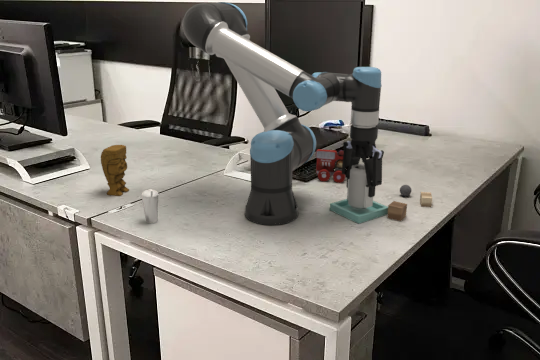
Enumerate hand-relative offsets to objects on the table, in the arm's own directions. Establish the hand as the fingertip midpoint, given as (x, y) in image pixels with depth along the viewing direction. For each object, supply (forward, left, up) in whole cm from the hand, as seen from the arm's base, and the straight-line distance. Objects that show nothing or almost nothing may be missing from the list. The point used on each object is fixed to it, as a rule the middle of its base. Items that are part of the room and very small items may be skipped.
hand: (359, 202), depth 151 cm
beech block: (+21, -7, -3) cm, 22 cm away
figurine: (-52, +56, -3) cm, 76 cm away
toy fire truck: (+13, +26, -3) cm, 29 cm away
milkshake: (-52, +28, -3) cm, 59 cm away
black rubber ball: (+21, +1, -1) cm, 21 cm away
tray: (0, 0, -3) cm, 3 cm away
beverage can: (0, 0, -1) cm, 1 cm away
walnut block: (+6, -9, -3) cm, 11 cm away
